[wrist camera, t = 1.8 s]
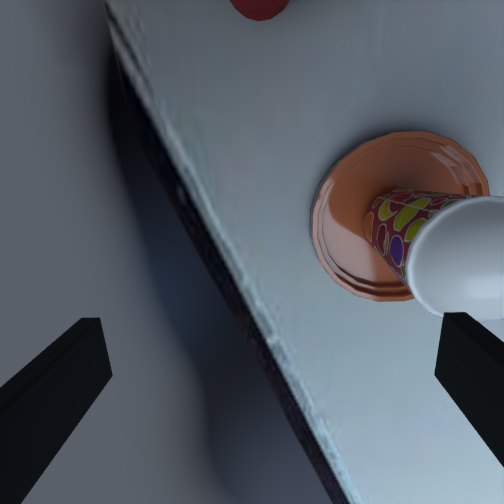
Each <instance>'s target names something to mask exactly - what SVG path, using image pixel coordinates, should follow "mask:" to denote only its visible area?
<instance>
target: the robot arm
mask: <svg viewBox="0 0 504 504" xmlns="http://www.w3.org/2000/svg"><path fill="white" fill-rule="evenodd" d="M434 375H435V376H436V378H437V379H438V380H439V382H440V383H441V384H442V386H443V387H444V388H445V390H446V391H447V392H448V394H449V395H450V396H451V398H452V399H453V400H454V402H455V403H456V405H457V406H458V407H459V409H460V410H461V411H462V413H463V414H464V415H465V417H466V418H467V419H468V421H469V422H470V423H471V425H472V426H473V427H474V429H475V430H476V431H477V433H478V434H479V435H480V437H481V438H482V439H483V441H484V442H485V443H486V445H487V446H488V447H489V449H490V450H491V451H492V453H493V454H494V455H495V457H496V458H497V459H498V461H499V462H500V463H501V465H502V466H503V467H504V342H503V341H501V340H500V339H499V338H498V337H496V336H495V335H494V334H493V333H491V332H490V331H489V330H488V329H486V328H485V327H484V326H483V325H481V324H480V323H479V322H478V321H476V320H475V319H474V318H473V317H471V316H470V315H469V314H468V313H466V312H444V315H443V322H442V328H441V335H440V341H439V348H438V354H437V361H436V367H435V374H434ZM111 377H112V370H111V366H110V361H109V357H108V352H107V348H106V343H105V339H104V334H103V329H102V325H101V321H100V318H81V319H80V320H78V321H77V322H76V323H75V324H74V325H73V326H71V327H70V328H69V329H68V330H67V331H66V332H64V333H63V334H62V335H61V336H60V337H59V338H57V339H56V340H55V341H54V342H53V343H52V344H51V345H49V346H48V347H47V348H46V349H45V350H43V351H42V352H41V353H40V354H39V355H38V356H36V357H35V358H34V359H33V360H32V361H31V362H29V363H28V364H27V365H26V366H25V367H24V368H23V369H21V370H20V371H19V372H18V373H17V374H16V375H14V376H13V377H12V378H11V379H10V380H9V381H7V382H6V383H5V384H4V385H3V386H2V387H0V504H21V503H22V501H23V500H24V498H25V497H26V496H27V494H28V493H29V492H30V490H31V489H32V488H33V486H34V485H35V483H36V482H37V481H38V479H39V478H40V476H41V475H42V474H43V472H44V471H45V469H46V468H47V467H48V465H49V464H50V462H51V461H52V459H53V458H54V457H55V455H56V454H57V452H58V451H59V450H60V448H61V447H62V445H63V444H64V443H65V441H66V440H67V438H68V437H69V436H70V434H71V433H72V432H73V430H74V429H75V427H76V426H77V425H78V423H79V422H80V420H81V419H82V418H83V416H84V415H85V413H86V412H87V411H88V409H89V408H90V406H91V405H92V404H93V402H94V401H95V399H96V398H97V397H98V395H99V394H100V392H101V391H102V390H103V388H104V387H105V386H106V384H107V383H108V381H109V380H110V379H111Z"/></svg>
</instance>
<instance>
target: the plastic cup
mask: <svg viewBox="0 0 504 504" xmlns="http://www.w3.org/2000/svg"><path fill="white" fill-rule="evenodd" d="M230 1H231V3H232V4H233V6H234V7H235V8H236V9H237V10H238V11H239V12H240V13H241V14H243V15H244V16H245V17H247V18H250V19H253V20H257V21H262V20H267V19H271V18H273V17H274V16H275V15H277V14H278V13H280V12H281V11H283V10H284V8H285V7H286V5H287V3H288V2H289V0H230Z"/></svg>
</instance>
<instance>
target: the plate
mask: <svg viewBox="0 0 504 504" xmlns="http://www.w3.org/2000/svg"><path fill="white" fill-rule="evenodd" d="M395 189H412V190H423V191H434V192H445V193H456V194H467V195H478V196H482V195H487V196H490V193H489V186H488V181H487V179H486V177H485V175H484V173H483V171H482V170H481V168H480V166H479V164H478V163H477V161H476V159H475V157H474V156H473V155H471V154H470V153H469V152H468V151H466V150H465V149H464V148H462V147H461V146H460V145H459V144H457V143H456V142H455V141H454V140H452V139H449V138H446V137H443V136H440V135H436V134H433V133H430V132H427V131H407V132H392V133H387V134H384V135H381V136H378V137H376V138H373V139H370V140H368V141H365V142H362V143H360V144H358V145H357V146H355V147H354V148H353V149H351V150H350V151H349V152H347V153H346V154H345V155H343V156H342V157H341V158H339V159H338V160H337V161H336V162H335V163H334V164H333V166H332V167H331V169H330V170H329V171H328V173H327V174H326V175H325V177H324V178H323V180H322V181H321V182H320V184H319V186H318V189H317V192H316V194H315V197H314V200H313V203H312V206H311V210H310V237H311V240H312V243H313V246H314V249H315V252H316V255H317V258H318V260H319V262H320V263H321V265H322V266H323V267H324V269H325V270H326V271H327V273H328V274H329V275H330V277H331V278H332V279H333V281H335V282H336V283H337V284H339V285H340V286H342V287H343V288H345V289H346V290H348V291H349V292H351V293H352V294H354V295H357V296H360V297H364V298H367V299H371V300H374V301H379V302H385V301H407V300H410V299H414V296H413V294H412V293H411V292H410V291H409V290H408V289H407V287H406V286H405V285H404V284H403V283H402V282H401V280H400V279H399V278H398V277H397V276H396V274H395V273H394V272H393V271H392V270H391V269H390V267H389V266H388V265H387V264H386V263H385V262H384V260H383V259H382V258H381V257H380V256H379V254H378V253H377V252H376V251H375V250H374V249H373V247H372V246H371V245H370V244H369V242H368V241H367V239H366V237H365V235H364V229H363V223H364V216H365V214H366V212H367V210H368V208H369V206H370V205H371V204H372V203H373V201H374V200H375V199H376V198H377V197H379V196H380V195H382V194H384V193H385V192H387V191H391V190H395Z"/></svg>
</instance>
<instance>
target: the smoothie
mask: <svg viewBox="0 0 504 504" xmlns="http://www.w3.org/2000/svg"><path fill="white" fill-rule="evenodd" d="M363 229H364V235H365V237H366V239H367V241H368V242H369V244H370V245H371V246H372V247H373V249H374V250H375V251H376V252H377V253H378V254H379V256H380V257H381V258H382V259H383V260H384V262H385V263H386V264H387V265H388V266H389V267H390V269H391V270H392V271H393V272H394V273H395V274H396V276H397V277H398V278H399V279H400V280H401V282H402V283H403V284H404V285H405V286H406V287H407V289H408V290H409V291H410V292H411V293H412V294H413V296H414V298H415V299H416V301H417V302H418V303H419V304H421V305H422V306H423V307H424V308H425V309H426V310H427V311H428V312H430V313H432V314H434V315H437V316H439V317H441V318H443V315H444V312H466V313H468V314H469V315H470V316H471V317H473V318H474V319H475V320H476V321H478V322H491V321H497V320H503V319H504V197H499V196H487V195H482V196H478V195H467V194H456V193H445V192H434V191H423V190H412V189H395V190H391V191H387V192H385V193H384V194H382V195H380V196H379V197H377V198H376V199H375V200H374V201H373V203H372V204H371V205H370V206H369V208H368V210H367V212H366V214H365V216H364V223H363Z"/></svg>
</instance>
